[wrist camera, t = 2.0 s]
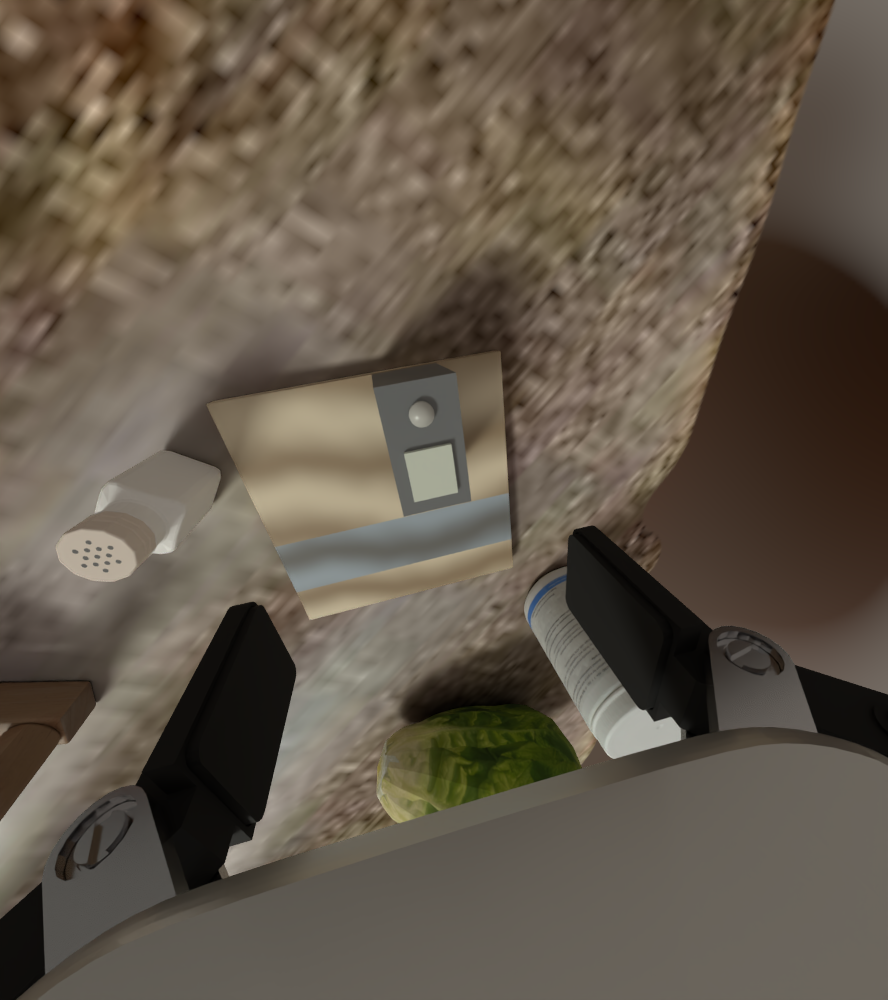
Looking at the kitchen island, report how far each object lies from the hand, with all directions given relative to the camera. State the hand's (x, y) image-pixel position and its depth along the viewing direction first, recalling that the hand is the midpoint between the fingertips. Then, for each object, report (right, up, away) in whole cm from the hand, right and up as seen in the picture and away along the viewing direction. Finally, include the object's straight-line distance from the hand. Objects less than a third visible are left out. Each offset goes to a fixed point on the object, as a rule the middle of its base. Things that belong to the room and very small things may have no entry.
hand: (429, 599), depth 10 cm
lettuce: (+3, -26, +35) cm, 44 cm away
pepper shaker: (-18, +5, +14) cm, 24 cm away
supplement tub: (+14, -8, +28) cm, 32 cm away
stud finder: (-2, +9, +15) cm, 17 cm away
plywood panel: (-4, +3, +18) cm, 19 cm away
